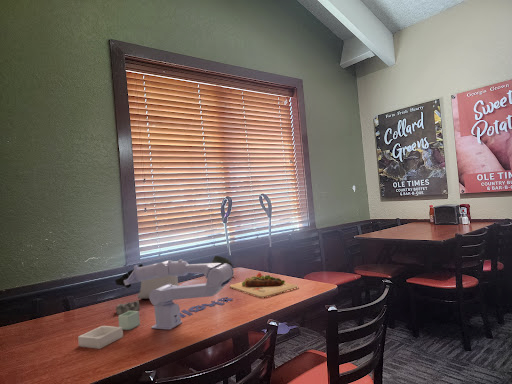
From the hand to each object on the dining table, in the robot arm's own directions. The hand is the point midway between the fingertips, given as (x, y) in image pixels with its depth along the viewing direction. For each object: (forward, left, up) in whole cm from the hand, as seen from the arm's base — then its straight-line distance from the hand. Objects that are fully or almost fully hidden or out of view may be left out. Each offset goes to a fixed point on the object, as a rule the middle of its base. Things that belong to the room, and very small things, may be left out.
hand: (122, 278), depth 143 cm
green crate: (-5, +3, -19) cm, 20 cm away
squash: (-1, -79, -19) cm, 81 cm away
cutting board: (-38, -58, -20) cm, 72 cm away
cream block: (+15, -40, -19) cm, 47 cm away
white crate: (-5, +17, -19) cm, 26 cm away
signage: (-24, -25, -20) cm, 40 cm away
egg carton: (+14, -15, -20) cm, 28 cm away
